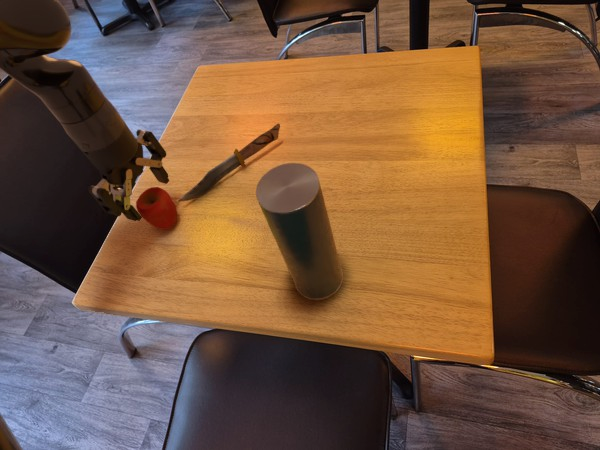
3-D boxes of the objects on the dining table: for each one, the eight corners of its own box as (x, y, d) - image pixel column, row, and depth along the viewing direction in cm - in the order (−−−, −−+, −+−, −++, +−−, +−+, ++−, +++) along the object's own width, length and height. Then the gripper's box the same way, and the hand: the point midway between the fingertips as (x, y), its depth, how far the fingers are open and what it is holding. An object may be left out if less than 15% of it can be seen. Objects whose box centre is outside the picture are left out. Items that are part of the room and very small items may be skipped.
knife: (182, 211, 83) (171, 194, 79) (179, 207, 84) (168, 190, 80) (286, 142, 88) (280, 123, 84) (282, 139, 89) (276, 120, 85)
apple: (150, 215, 84) (130, 190, 78) (180, 204, 84) (163, 178, 78) (153, 240, 80) (133, 216, 74) (185, 228, 80) (167, 203, 74)
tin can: (332, 306, 65) (303, 219, 48) (286, 291, 68) (244, 204, 51) (350, 263, 69) (329, 168, 52) (306, 251, 72) (273, 157, 55)
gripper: (110, 96, 69) (157, 166, 82) (49, 161, 62) (111, 226, 75) (146, 102, 66) (189, 174, 79) (86, 171, 59) (144, 237, 72)
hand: (151, 199), depth 77 cm, fingers open, 8 cm apart
